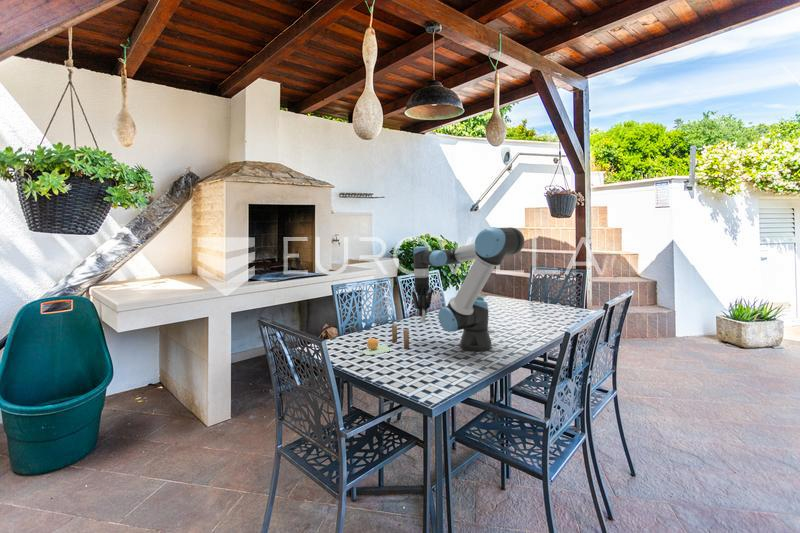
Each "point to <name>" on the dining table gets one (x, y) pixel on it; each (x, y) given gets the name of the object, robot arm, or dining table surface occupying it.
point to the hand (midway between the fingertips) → (422, 322)
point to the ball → (372, 343)
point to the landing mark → (378, 350)
